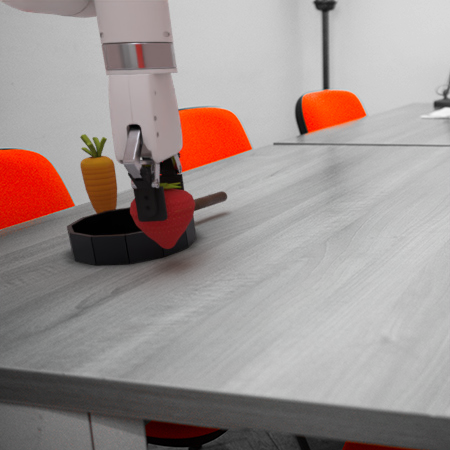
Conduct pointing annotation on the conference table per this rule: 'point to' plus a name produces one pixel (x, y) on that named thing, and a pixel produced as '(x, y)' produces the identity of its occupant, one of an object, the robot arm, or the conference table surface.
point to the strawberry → (177, 216)
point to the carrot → (99, 176)
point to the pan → (125, 236)
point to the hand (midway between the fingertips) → (163, 211)
